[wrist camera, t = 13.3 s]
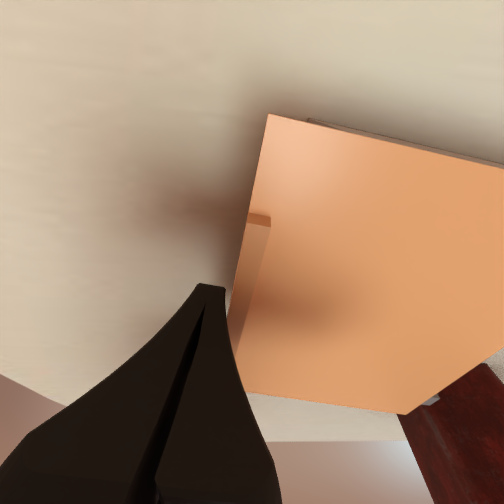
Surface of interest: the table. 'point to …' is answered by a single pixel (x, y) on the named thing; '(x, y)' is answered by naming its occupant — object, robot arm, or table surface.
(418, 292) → the lid
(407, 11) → the table surface
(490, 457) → the vintage gas pump
